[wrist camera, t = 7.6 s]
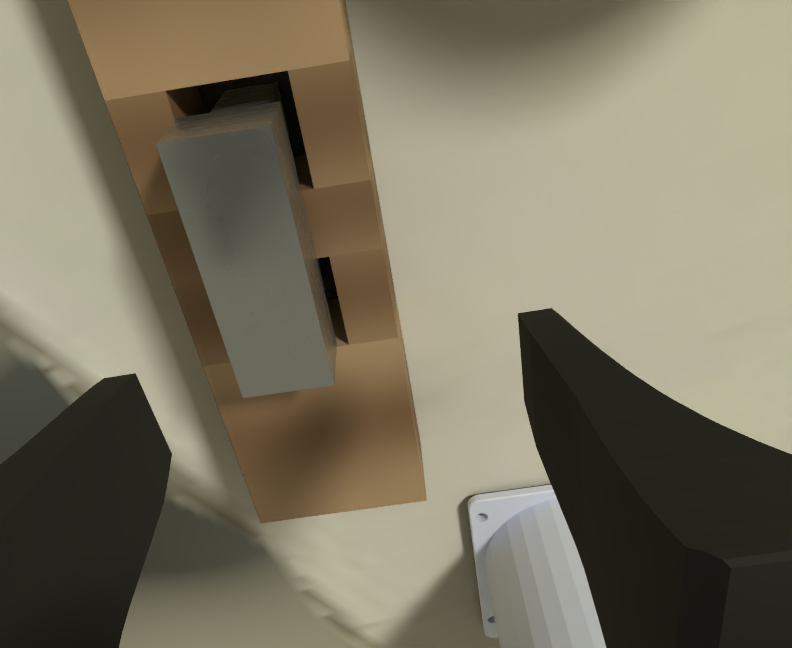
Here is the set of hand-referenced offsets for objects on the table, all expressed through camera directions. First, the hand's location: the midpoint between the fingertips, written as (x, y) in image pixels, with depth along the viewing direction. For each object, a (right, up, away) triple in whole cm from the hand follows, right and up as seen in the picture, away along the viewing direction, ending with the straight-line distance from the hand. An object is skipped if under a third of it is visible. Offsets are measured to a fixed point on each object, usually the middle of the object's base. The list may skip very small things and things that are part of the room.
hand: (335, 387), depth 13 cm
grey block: (-2, +5, +8) cm, 10 cm away
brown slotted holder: (-2, +5, +8) cm, 10 cm away
